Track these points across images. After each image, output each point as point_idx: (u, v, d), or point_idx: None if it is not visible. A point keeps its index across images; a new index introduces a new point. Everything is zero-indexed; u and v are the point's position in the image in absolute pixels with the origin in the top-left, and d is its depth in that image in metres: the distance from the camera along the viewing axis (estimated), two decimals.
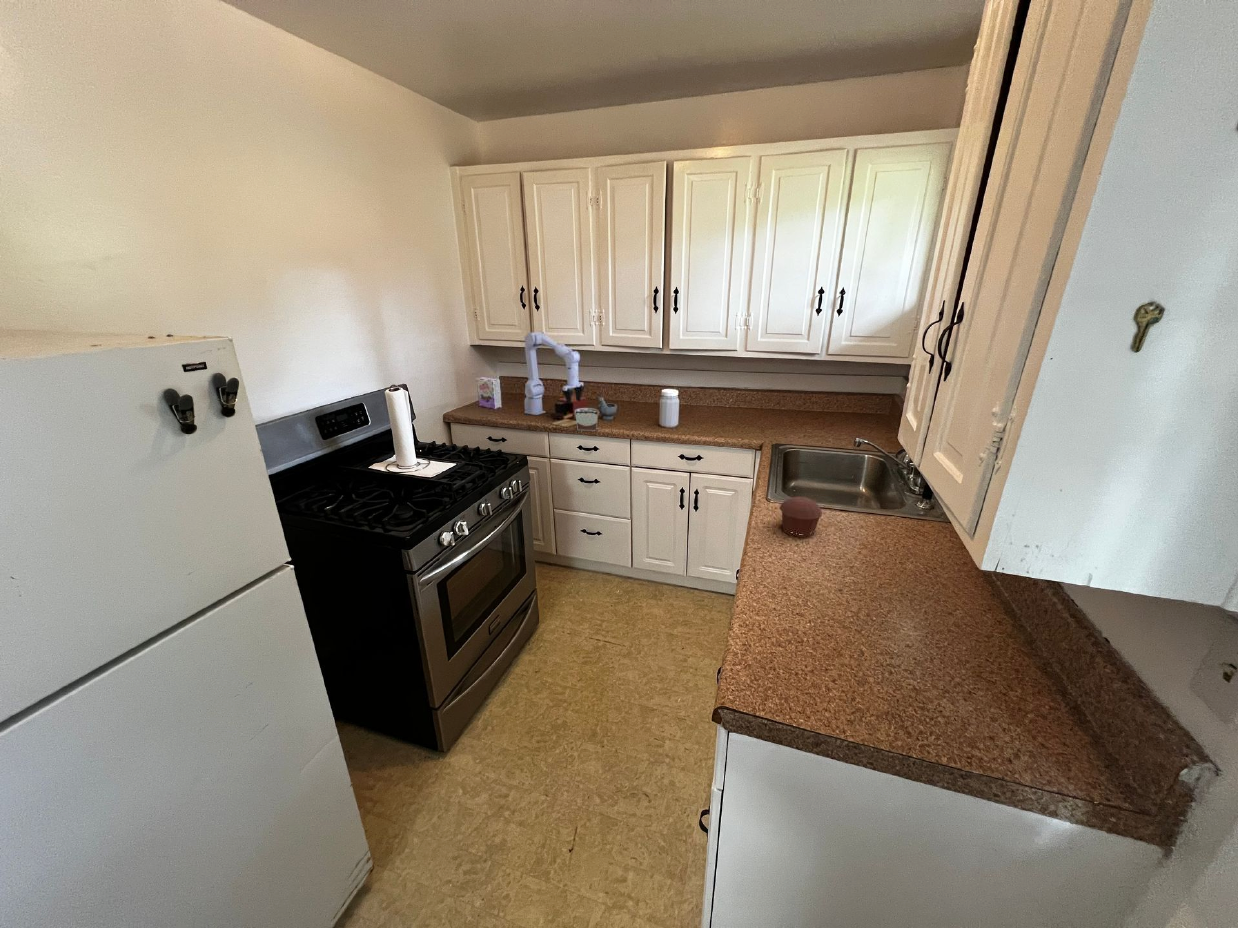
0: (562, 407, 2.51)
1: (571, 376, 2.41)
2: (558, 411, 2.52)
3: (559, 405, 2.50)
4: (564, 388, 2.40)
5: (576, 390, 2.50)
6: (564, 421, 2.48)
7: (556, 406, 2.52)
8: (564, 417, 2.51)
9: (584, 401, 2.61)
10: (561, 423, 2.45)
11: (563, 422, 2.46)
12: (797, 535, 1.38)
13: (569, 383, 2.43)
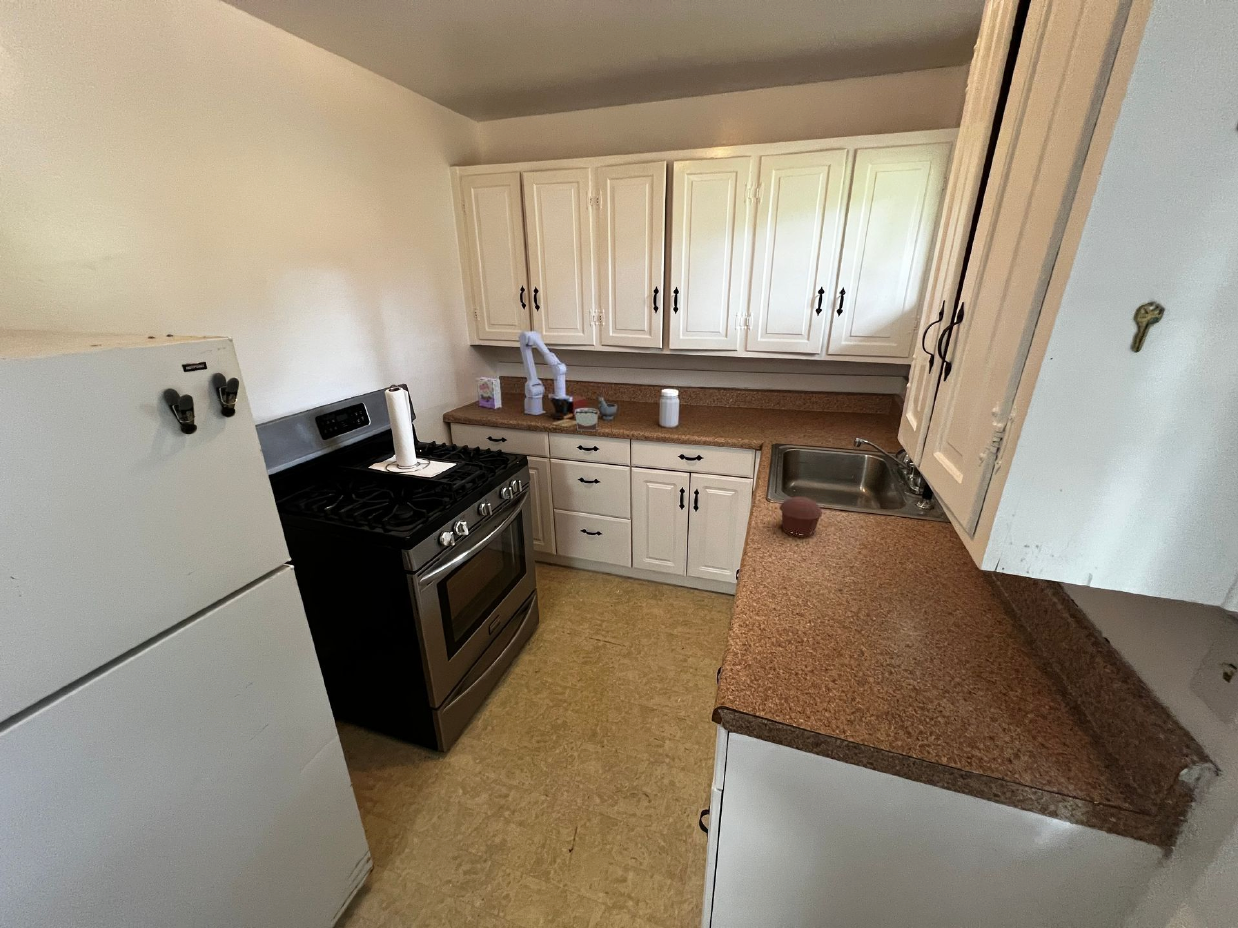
0: None
1: (558, 388, 2.47)
2: (558, 411, 2.52)
3: (559, 405, 2.50)
4: None
5: None
6: (564, 421, 2.48)
7: (556, 406, 2.52)
8: (564, 417, 2.51)
9: (584, 401, 2.61)
10: (561, 423, 2.45)
11: (563, 422, 2.46)
12: (797, 535, 1.38)
13: None
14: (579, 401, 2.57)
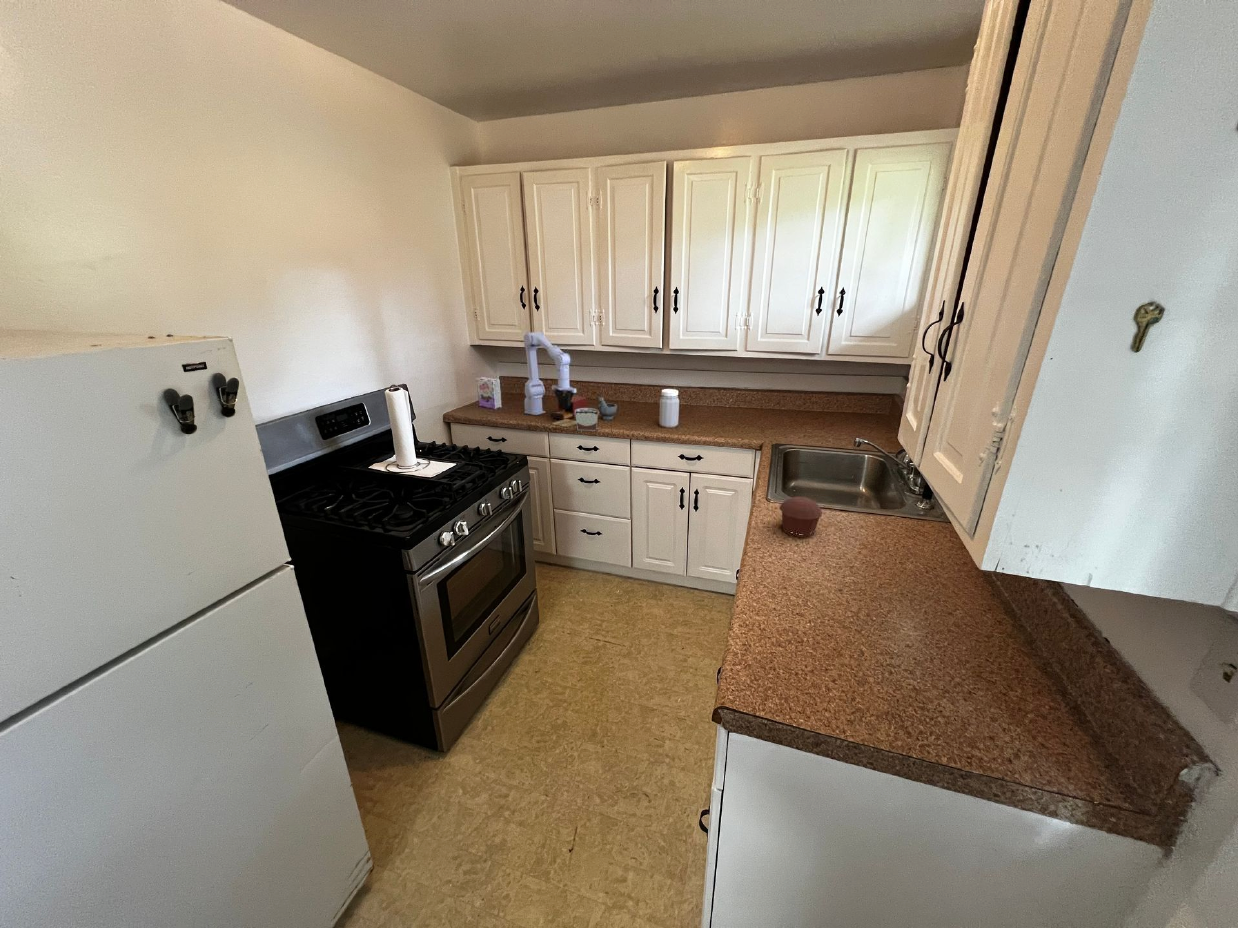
0: None
1: (560, 379, 2.37)
2: (562, 404, 2.42)
3: (563, 397, 2.40)
4: None
5: None
6: (564, 421, 2.48)
7: (560, 398, 2.42)
8: (564, 417, 2.51)
9: (584, 401, 2.61)
10: (561, 423, 2.45)
11: (563, 422, 2.46)
12: (797, 535, 1.38)
13: None
14: (579, 401, 2.57)
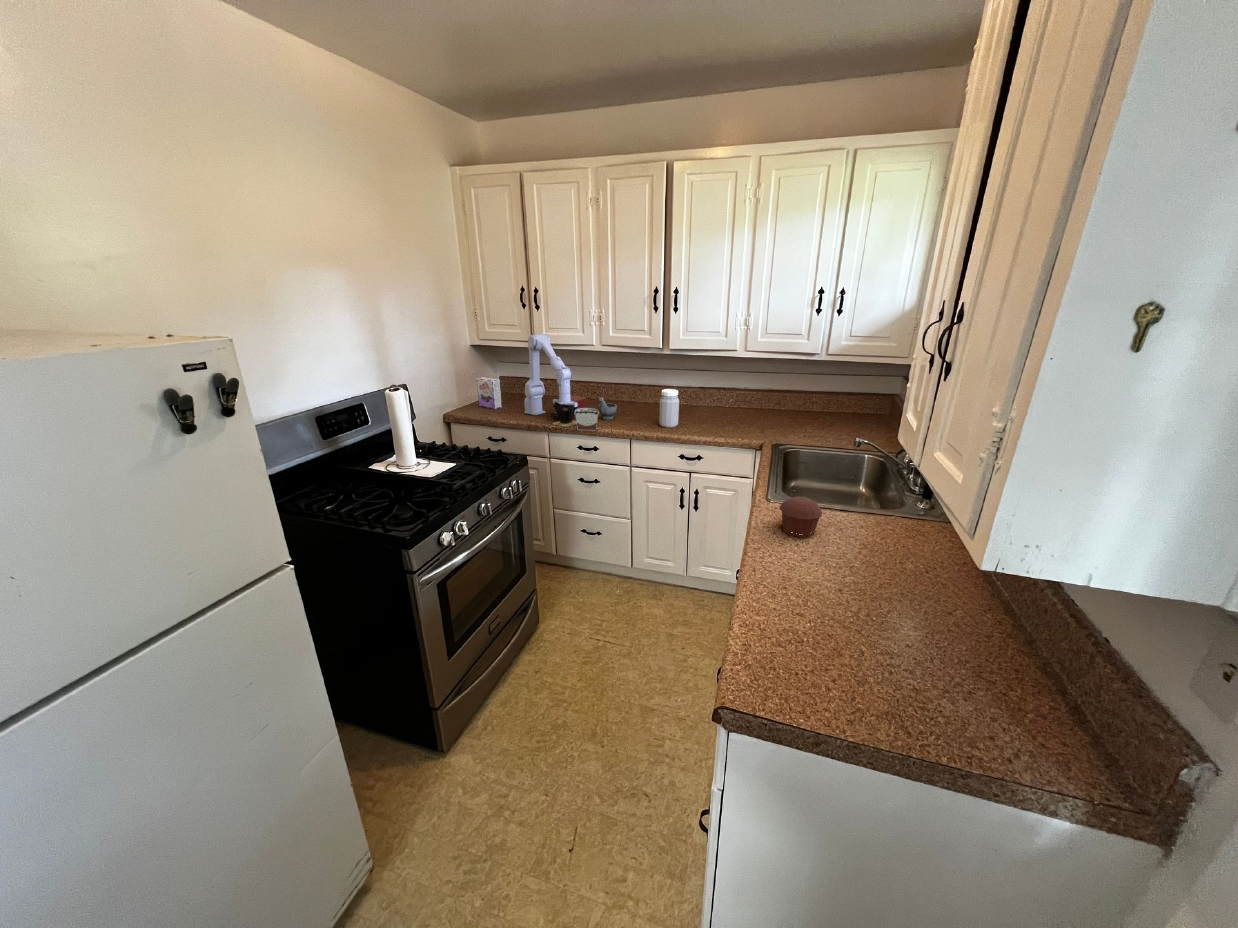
0: (567, 414, 2.43)
1: (561, 393, 2.38)
2: (563, 418, 2.44)
3: (564, 411, 2.42)
4: None
5: None
6: None
7: (561, 412, 2.43)
8: None
9: (584, 401, 2.61)
10: (561, 423, 2.45)
11: None
12: (797, 535, 1.38)
13: None
14: (579, 401, 2.57)
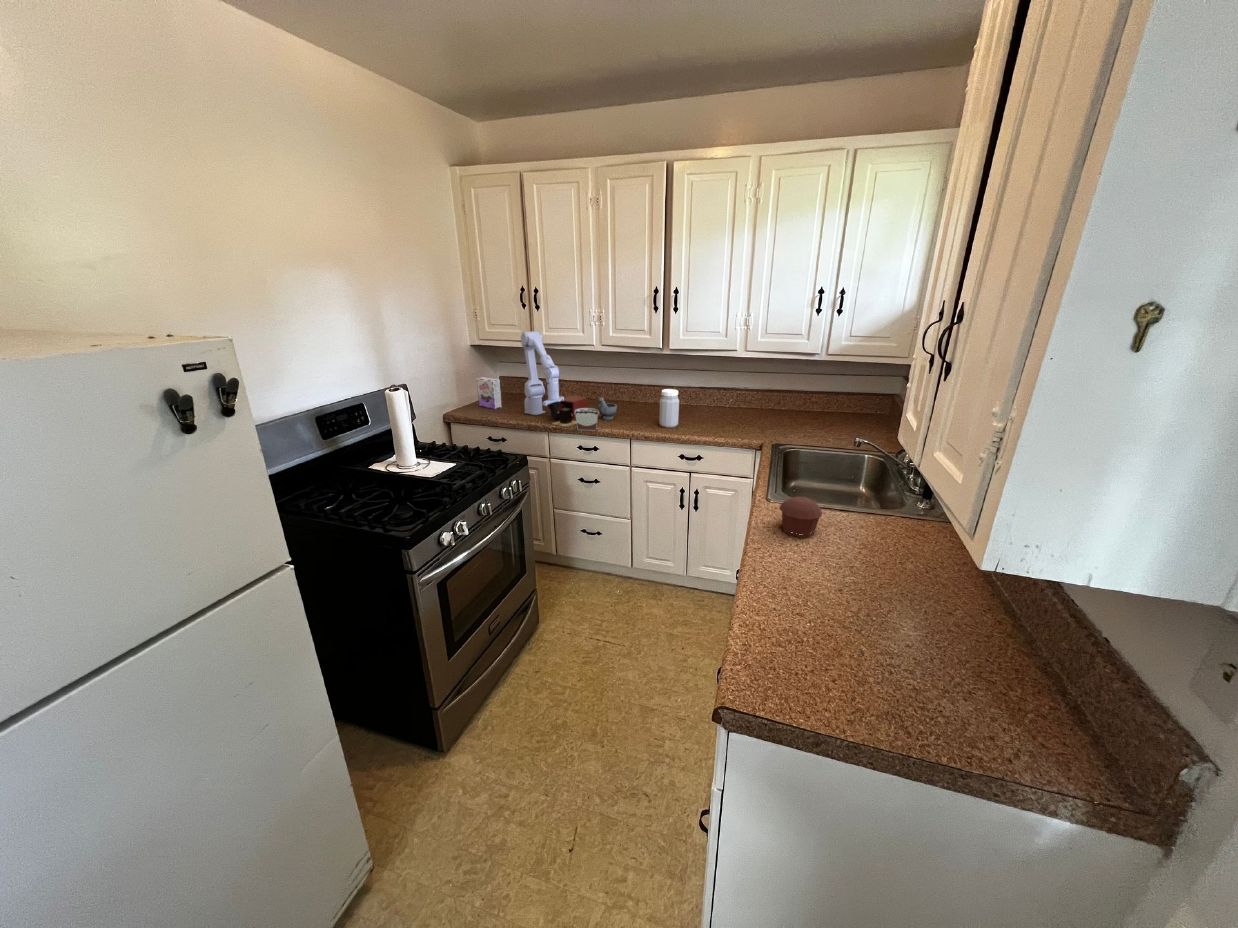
0: (567, 414, 2.43)
1: (550, 391, 2.43)
2: (563, 418, 2.44)
3: (564, 411, 2.42)
4: (544, 403, 2.42)
5: (552, 406, 2.49)
6: None
7: (561, 412, 2.43)
8: None
9: (584, 401, 2.61)
10: (561, 423, 2.45)
11: None
12: (797, 535, 1.38)
13: (549, 398, 2.45)
14: (579, 401, 2.57)
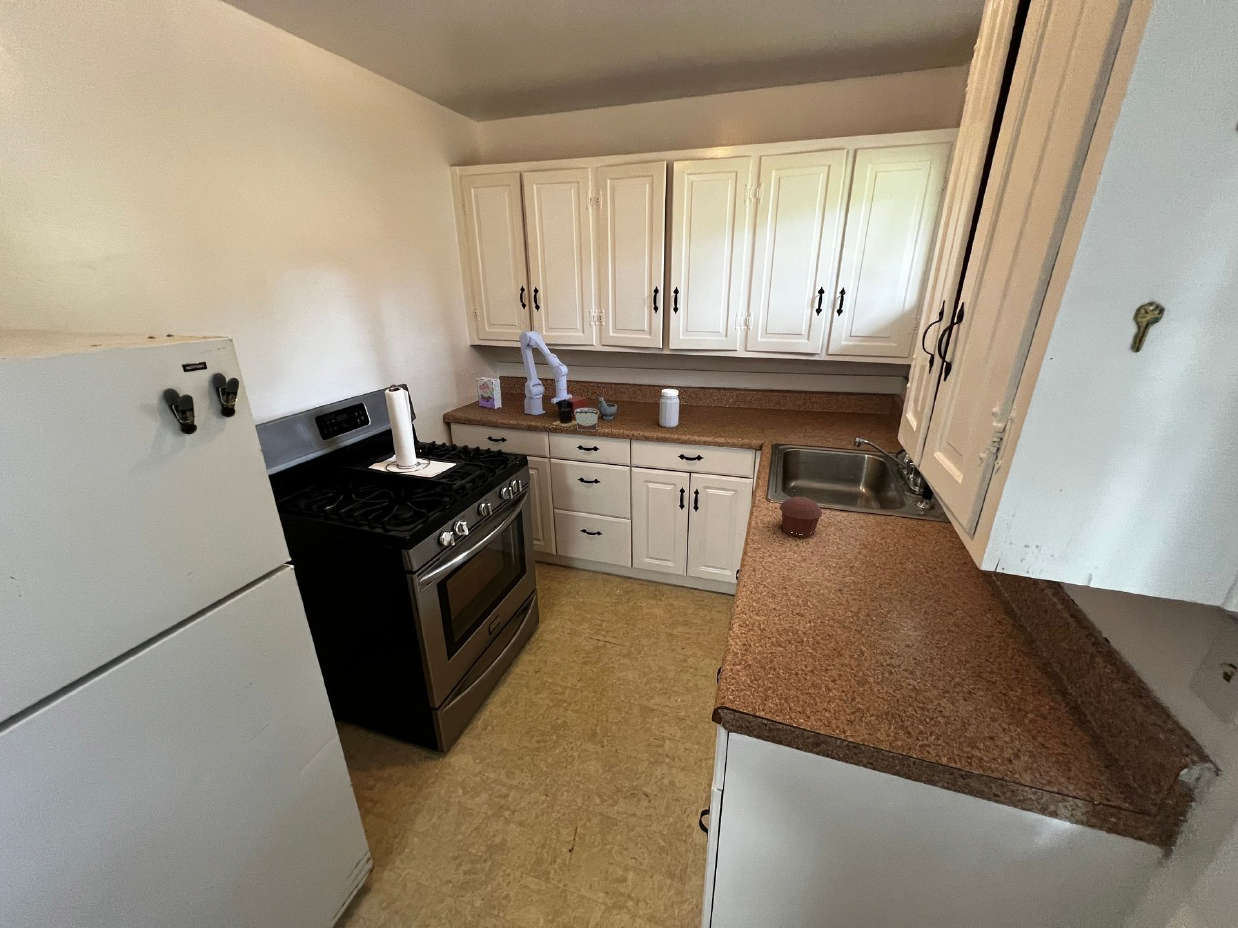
0: (567, 414, 2.43)
1: (559, 389, 2.48)
2: (563, 418, 2.44)
3: (564, 411, 2.42)
4: (552, 401, 2.47)
5: (560, 403, 2.54)
6: None
7: (561, 412, 2.43)
8: (572, 414, 2.56)
9: (584, 401, 2.61)
10: (561, 423, 2.45)
11: None
12: (797, 535, 1.38)
13: (557, 396, 2.50)
14: (579, 401, 2.57)
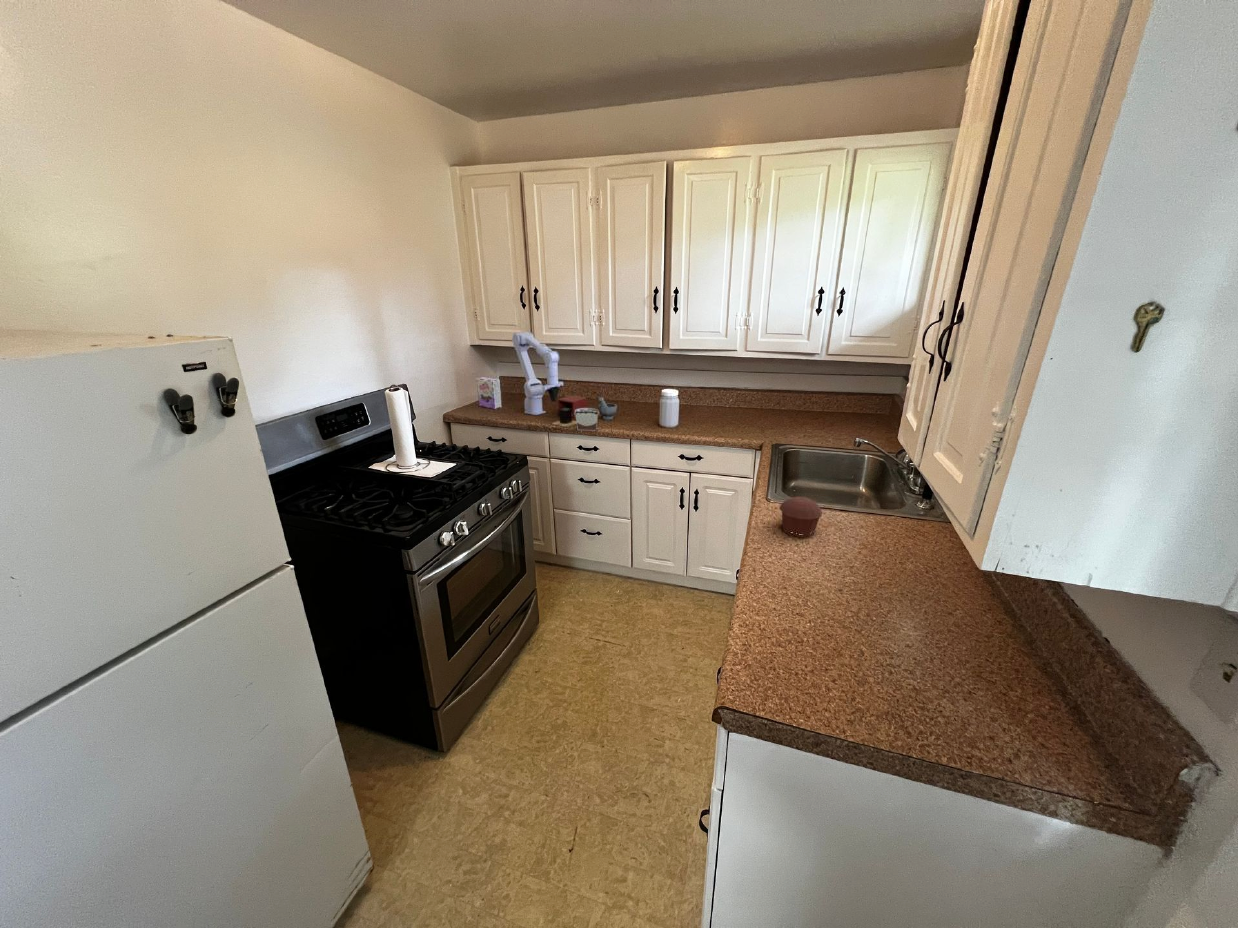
0: (567, 414, 2.43)
1: (549, 376, 2.45)
2: (563, 418, 2.44)
3: (564, 411, 2.42)
4: (543, 388, 2.43)
5: (552, 391, 2.51)
6: None
7: (561, 412, 2.43)
8: (572, 414, 2.56)
9: (584, 401, 2.61)
10: (561, 423, 2.45)
11: None
12: (797, 535, 1.38)
13: (549, 383, 2.46)
14: (579, 401, 2.57)
